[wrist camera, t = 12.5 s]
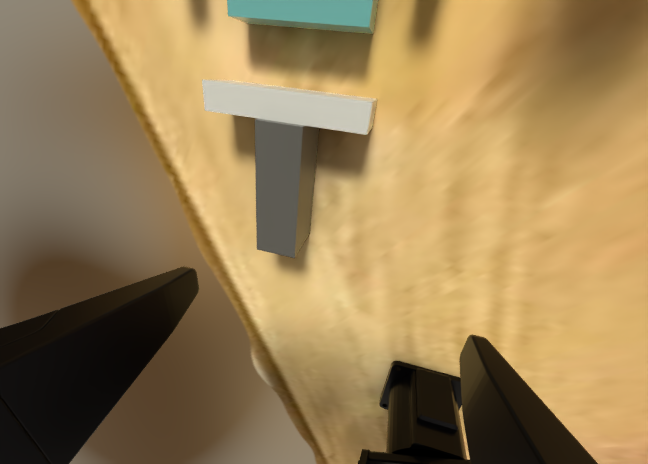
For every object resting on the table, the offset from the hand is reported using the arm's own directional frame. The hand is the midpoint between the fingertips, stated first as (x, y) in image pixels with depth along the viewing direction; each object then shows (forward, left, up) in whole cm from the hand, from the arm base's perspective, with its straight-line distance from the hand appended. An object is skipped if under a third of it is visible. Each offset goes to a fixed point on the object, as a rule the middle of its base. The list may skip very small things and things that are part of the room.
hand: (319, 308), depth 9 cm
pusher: (+1, +5, -11) cm, 12 cm away
